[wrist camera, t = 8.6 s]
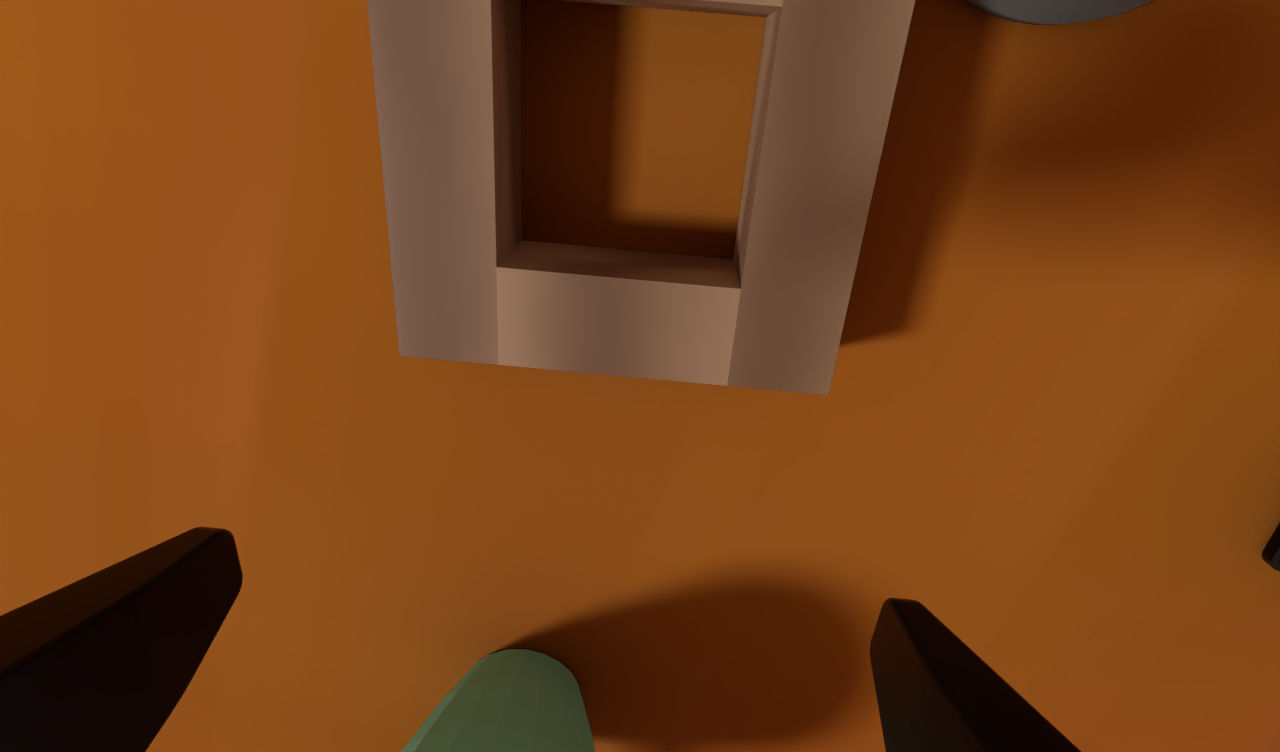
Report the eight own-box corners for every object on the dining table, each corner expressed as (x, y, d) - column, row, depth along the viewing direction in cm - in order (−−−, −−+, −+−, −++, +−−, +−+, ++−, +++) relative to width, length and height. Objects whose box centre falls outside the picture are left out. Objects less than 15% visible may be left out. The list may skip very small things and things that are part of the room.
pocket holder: (901, -107, 16) (947, -145, 13) (809, 352, 21) (828, 395, 18) (406, -144, 16) (350, -188, 13) (436, 318, 21) (399, 355, 18)
